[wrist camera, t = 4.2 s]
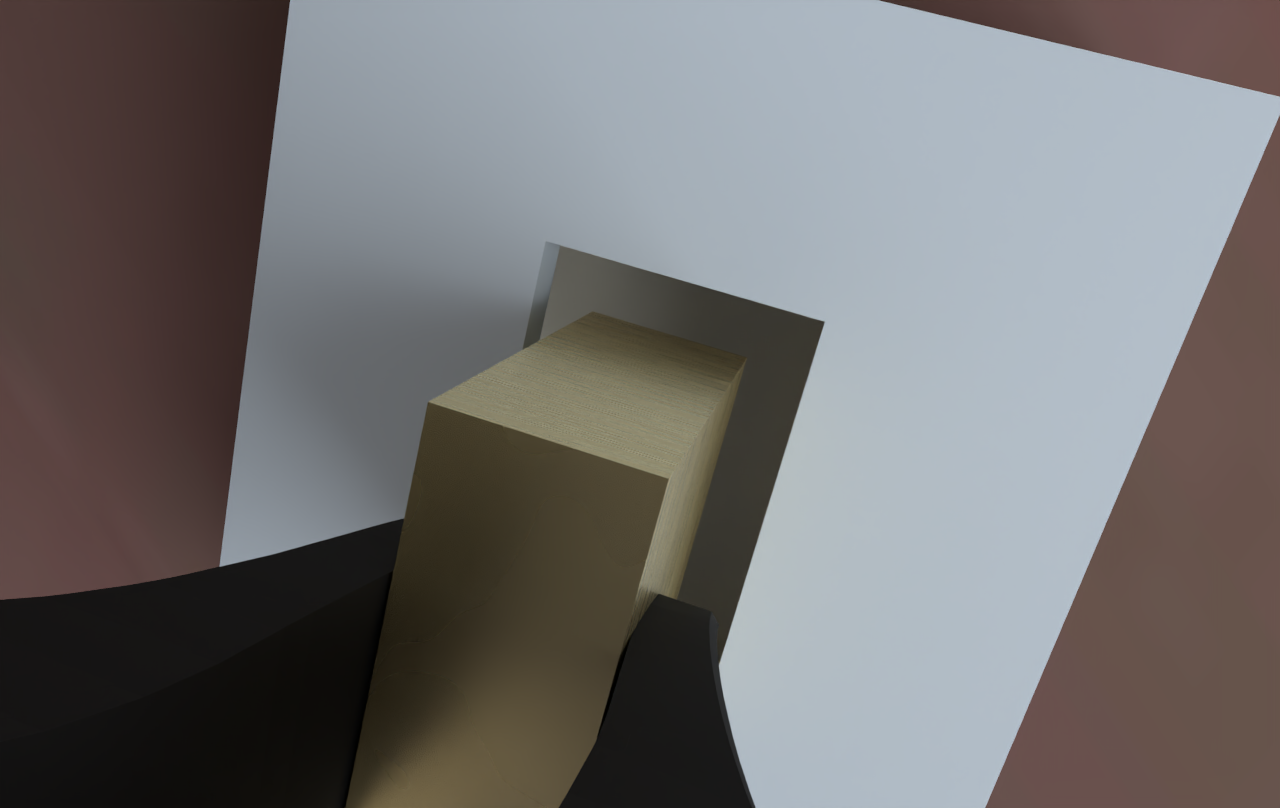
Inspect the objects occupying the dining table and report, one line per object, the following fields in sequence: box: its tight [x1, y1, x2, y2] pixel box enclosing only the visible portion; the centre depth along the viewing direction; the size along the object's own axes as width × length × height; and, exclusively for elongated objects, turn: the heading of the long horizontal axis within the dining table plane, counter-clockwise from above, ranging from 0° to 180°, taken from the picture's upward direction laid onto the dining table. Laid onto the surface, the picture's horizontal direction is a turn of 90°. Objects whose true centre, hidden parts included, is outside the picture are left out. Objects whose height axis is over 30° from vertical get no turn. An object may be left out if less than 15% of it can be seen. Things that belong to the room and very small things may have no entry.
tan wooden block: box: [346, 311, 747, 808], centre depth 11 cm, size 5×2×5 cm, turn 166°
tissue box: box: [220, 0, 1280, 808], centre depth 17 cm, size 14×11×7 cm
